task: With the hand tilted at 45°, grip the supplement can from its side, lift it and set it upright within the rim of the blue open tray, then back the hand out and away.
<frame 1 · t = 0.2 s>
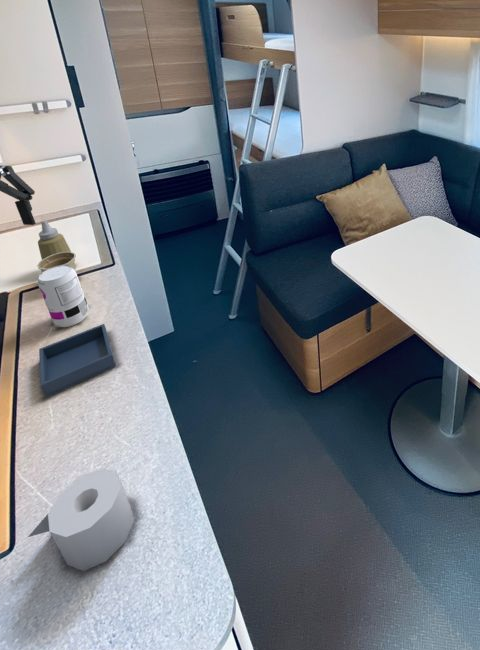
hand: (5, 237, 100), 27 cm above the worktop, tool pointing down, fingers open, 13 cm apart
toilet tissue: (92, 533, 66), on the worktop
flower pot: (65, 284, 127), on the worktop
squeeze bottle: (62, 270, 134), on the worktop
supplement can: (72, 318, 112), on the worktop
blue open tray: (79, 363, 98), on the worktop
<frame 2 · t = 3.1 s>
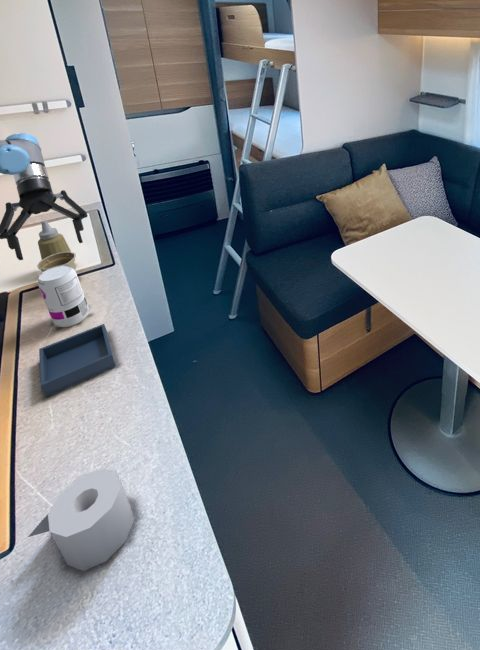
hand: (51, 249, 113), 17 cm above the worktop, tool tilted 45°, fingers open, 13 cm apart
nothing on the worktop moved.
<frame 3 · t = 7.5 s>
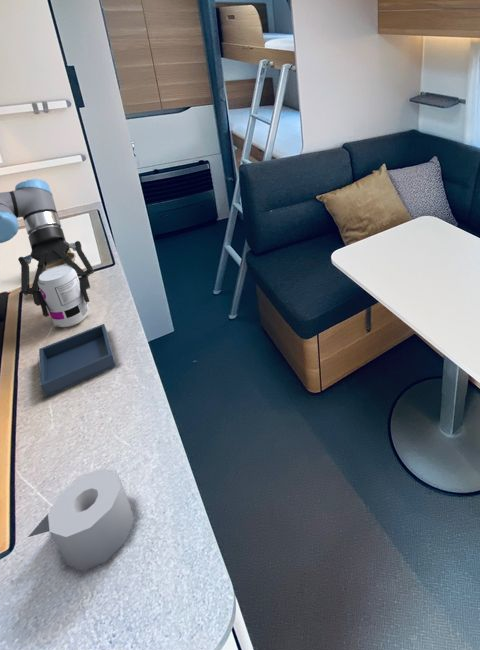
hand: (67, 307, 108), 6 cm above the worktop, tool tilted 45°, fingers closed on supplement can, 8 cm apart
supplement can: (72, 318, 112), on the worktop, touching gripper
everything else where it was.
when the fingers open (6 cm above the worktop, at t = 16.7 s): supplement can stays where it is, resting on blue open tray.
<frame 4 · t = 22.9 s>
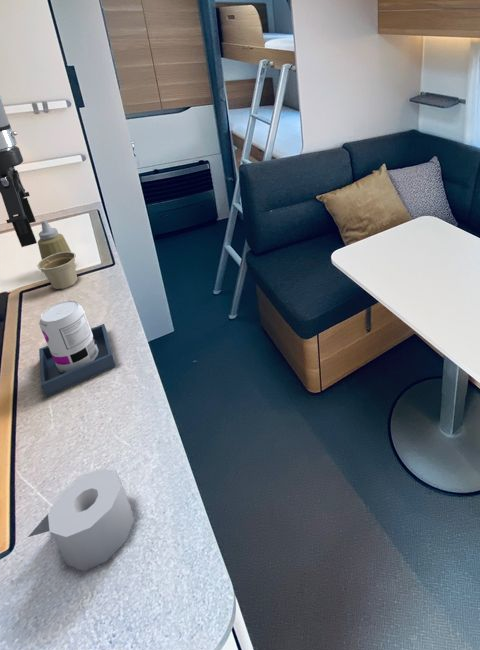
hand: (29, 233, 98), 29 cm above the worktop, tool pointing down, fingers open, 13 cm apart
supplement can: (79, 361, 98), resting on blue open tray
everything else where it was.
at the end: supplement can 0.1 cm off-centre in the blue open tray, point 0.4 cm above the blue open tray's base; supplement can tilted 0°; the gripper is holding nothing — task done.
